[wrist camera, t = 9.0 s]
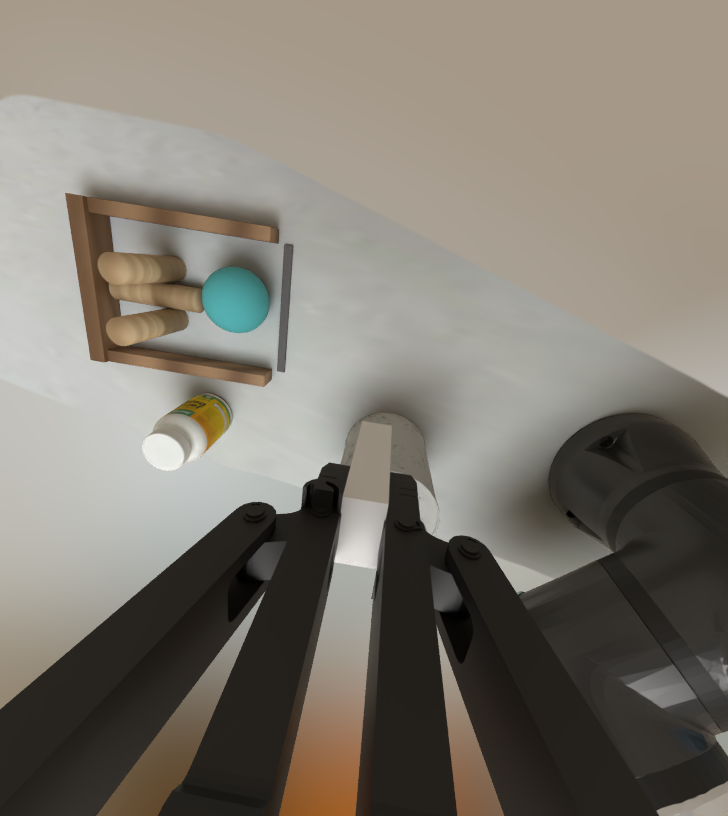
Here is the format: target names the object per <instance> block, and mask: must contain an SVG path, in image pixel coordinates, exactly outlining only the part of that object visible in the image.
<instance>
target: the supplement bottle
mask: <svg viewBox="0 0 728 816" xmlns="http://www.w3.org/2000/svg"><path fill="white" fill-rule="evenodd" d="M231 421H232V414H231V410H230V408H229V406H228V405H227V403H226V402H225V401H224V400H222V399H221V398H220V397H218V396H216V395H213V394H209V393H204V394H199V395H196V396H194V397H193V398H191V399H190V400H188V401H187V402H185V403H184V404H182V405H180V406H179V407H177V408H176V409H174V410H173V411H171V412H170V413H168V414H167V415H165V416H164V417H162V418H161V419H160V420H158V422H157V423H156V424H155V426H154V429H153V432H152V433H151V434H150V435H148V436H147V437H146V438H145V440H144V441H143V444H142V451H143V454H144V456H145V458H146V459H147V461H148V462H149V463H150V464H151V465H153V466H154V467H156V468H158V469H161V470H165V471H166V470H167V471H171V470H175V469H177V468H179V467H180V466H182V465H183V464H184V463H187V462H192V461H194V460H196V459H198V458H199V457H201V456H202V455H203V454H204V453H205V452H206V451H207V450H208V449H209V448H210V447H211V446H212V445H213V444H214V443H215V442H216V441H217V440H218V439H219V438H220V437H221V436H222V435H223V434H224V433H225V432H226V430H227V429H228V428H229V426H230V424H231Z"/></svg>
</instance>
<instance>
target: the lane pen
mask: <svg viewBox="0 0 728 816" xmlns="http://www.w3.org/2000/svg"><path fill="white" fill-rule="evenodd" d="M65 195H66V201H67V208H68V214H69V221H70V227H71V234H72V240H73V247H74V253H75V260H76V267H77V273H78V280H79V286H80V293H81V299H82V306H83V312H84V319H85V325H86V332H87V338H88V345H89V351H90V358H91V360H94V361H100V362H108V361H111V362H117V363H123V364H129V365H135V366H141V367H147V368H153V369H159V370H165V371H171V372H177V373H183V374H189V375H195V376H202V377H208V378H214V379H220V380H226V381H232V382H238V383H244V384H250V385H256V386H262V387H264V386H265V385H266V384H267V383H269V382H270V381H271V377H272V370H271V369H265V368H259V367H253V366H247V365H241V364H235V363H229V362H222V361H216V360H210V359H204V358H198V357H192V356H186V355H180V354H174V353H168V352H162V351H156V350H150V349H144V348H138V347H131V346H120V345H117V344H115V343H114V342H113V341H112V340H111V339H110V338H109V336H108V334H107V332H106V324H107V322H108V321H109V320H110V319H111V318H115V317H121V314H120V305H119V300H118V299H115V298H114V297H113V296H112V295H111V293H110V291H109V282H107V281H106V280H105V279H104V278H103V277H102V276H101V274H100V272H99V269H98V259H99V257H100V255H101V254H103V253H105V252H113V244H112V235H111V226H110V218H109V216H112V217H118V218H124V219H130V220H137V221H143V222H149V223H155V224H161V225H167V226H173V227H179V228H185V229H192V230H198V231H204V232H210V233H216V234H222V235H228V236H234V237H241V238H247V239H253V240H259V241H265V242H271V243H277V244H278V241H279V230H278V229H275V228H272V227H268V226H262V225H256V224H250V223H244V222H238V221H232V220H226V219H219V218H213V217H207V216H201V215H195V214H189V213H183V212H177V211H170V210H164V209H158V208H152V207H146V206H140V205H134V204H127V203H121V202H115V201H109V200H103V199H97V198H91V197H85V196H81V195H75V194H68V193H65Z"/></svg>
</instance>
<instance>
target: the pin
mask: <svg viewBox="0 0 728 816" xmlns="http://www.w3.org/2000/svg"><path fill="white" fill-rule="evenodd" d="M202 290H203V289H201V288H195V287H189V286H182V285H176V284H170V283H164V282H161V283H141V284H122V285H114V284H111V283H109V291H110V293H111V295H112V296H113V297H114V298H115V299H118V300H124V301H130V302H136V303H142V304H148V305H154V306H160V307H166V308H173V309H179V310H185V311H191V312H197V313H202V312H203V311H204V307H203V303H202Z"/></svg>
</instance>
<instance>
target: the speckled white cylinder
mask: <svg viewBox="0 0 728 816" xmlns="http://www.w3.org/2000/svg"><path fill="white" fill-rule="evenodd" d="M362 421H366V422H372V423H378V424H384V425H391V426H392V435H391V459H390V472H395V473H401V474H407V475H412V477H413V478H414V480H415V481H416V482H417V490H418V491H417V492H418V500H419V510H420V520H421V521H422V522H423V523H424V526H425V528H426V531H427V532H428V533H429V534H431V535H432V536H434V535H435V533H436V531H437V528H438V524H439V508H438V504H437V501H436V498H435V493H434V489H433V484H432V479H431V474H430V469H429V465H428V460H427V455H426V450H425V442H424V439H423V436H422V434H421V432H420V431H419V429H418V428H417V427H416V426H415V425H414V424H413V423H412V422H411V421H409V420H408V419H406V418H405V417H402V416H400V415H397V414H392V413H377V414H373V415H370V416H367V417H365V418H363V419H361V420H360V421H359V422H358V423H356V424H355V425H354V426H353V428H352V429H351V430H350V432H349V434H348V436H347V439H346V443H345V449H344V453H343V458H342V462H341V465H347V466H351V463H352V459H353V455H354V451H355V447H356V443H357V440H358V436H359V432H360V428H361V424H362Z"/></svg>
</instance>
